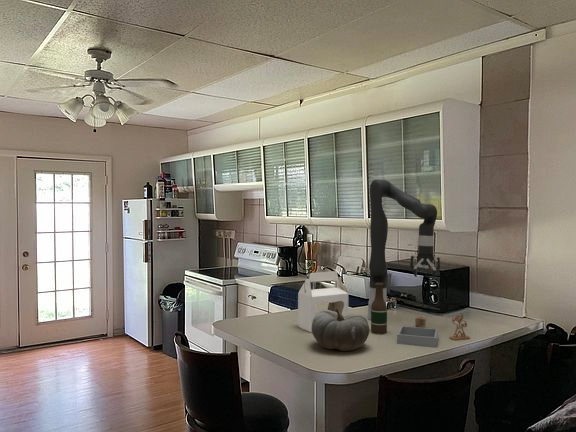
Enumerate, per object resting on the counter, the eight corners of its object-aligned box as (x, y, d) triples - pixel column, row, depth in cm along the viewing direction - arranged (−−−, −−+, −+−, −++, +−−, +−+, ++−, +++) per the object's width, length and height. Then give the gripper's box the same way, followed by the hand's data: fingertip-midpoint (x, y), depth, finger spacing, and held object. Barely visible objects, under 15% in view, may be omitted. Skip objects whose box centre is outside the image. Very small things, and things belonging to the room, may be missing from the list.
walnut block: (415, 332, 239) (415, 318, 239) (416, 330, 244) (416, 316, 243) (424, 333, 238) (424, 319, 238) (425, 331, 242) (425, 317, 242)
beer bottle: (387, 331, 242) (388, 282, 241) (385, 335, 234) (386, 284, 234) (372, 329, 244) (372, 281, 244) (369, 333, 237) (369, 283, 236)
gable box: (334, 322, 260) (334, 269, 259) (348, 327, 248) (349, 272, 247) (297, 326, 249) (297, 271, 248) (310, 332, 237) (311, 275, 237)
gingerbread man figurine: (464, 336, 232) (464, 311, 232) (469, 338, 229) (470, 313, 229) (448, 338, 229) (449, 312, 229) (454, 340, 226) (455, 314, 225)
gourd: (306, 332, 227) (313, 296, 225) (358, 341, 229) (366, 305, 227) (311, 354, 202) (319, 314, 200) (370, 364, 204) (378, 324, 202)
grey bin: (397, 343, 220) (397, 334, 220) (401, 334, 236) (401, 325, 236) (435, 347, 215) (436, 338, 215) (437, 337, 231) (437, 329, 231)
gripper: (410, 244, 242) (409, 277, 243) (440, 246, 237) (439, 279, 238) (411, 243, 249) (410, 275, 250) (441, 244, 244) (440, 277, 245)
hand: (424, 277), depth 244 cm, fingers open, 8 cm apart
